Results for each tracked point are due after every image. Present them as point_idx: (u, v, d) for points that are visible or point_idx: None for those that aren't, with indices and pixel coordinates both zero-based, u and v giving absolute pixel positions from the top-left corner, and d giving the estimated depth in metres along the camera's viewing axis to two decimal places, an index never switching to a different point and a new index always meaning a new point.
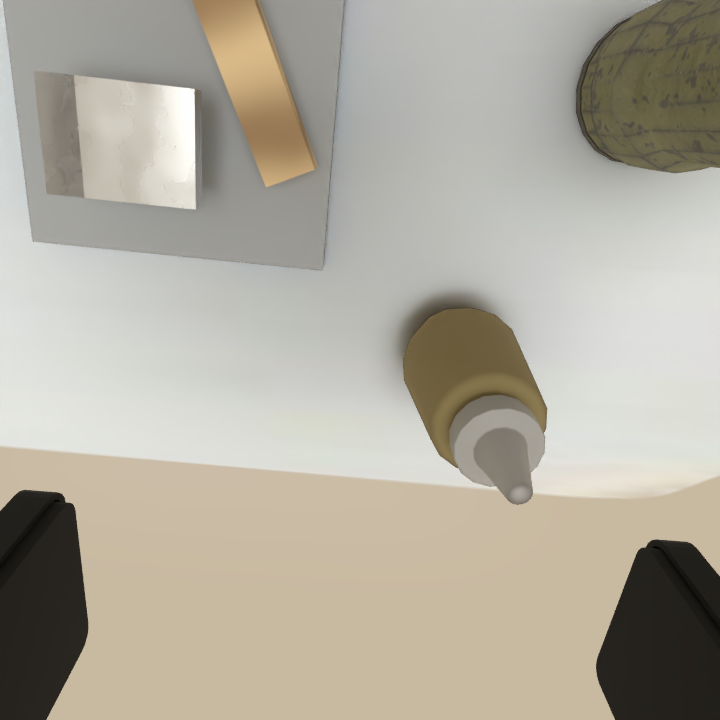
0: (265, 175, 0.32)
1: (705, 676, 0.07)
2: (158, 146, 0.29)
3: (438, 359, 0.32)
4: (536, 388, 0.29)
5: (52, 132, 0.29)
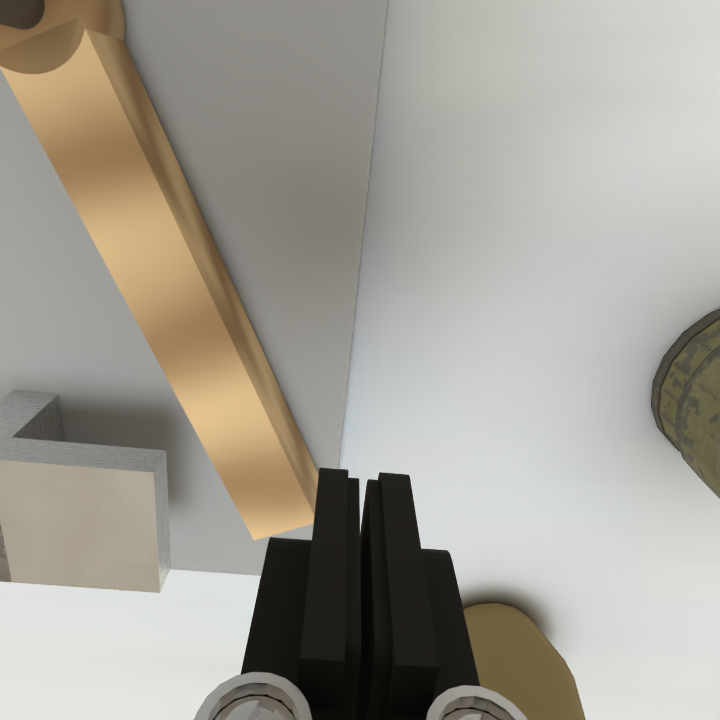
0: (253, 528, 0.24)
1: (367, 580, 0.08)
2: (107, 531, 0.22)
3: None
4: None
5: None
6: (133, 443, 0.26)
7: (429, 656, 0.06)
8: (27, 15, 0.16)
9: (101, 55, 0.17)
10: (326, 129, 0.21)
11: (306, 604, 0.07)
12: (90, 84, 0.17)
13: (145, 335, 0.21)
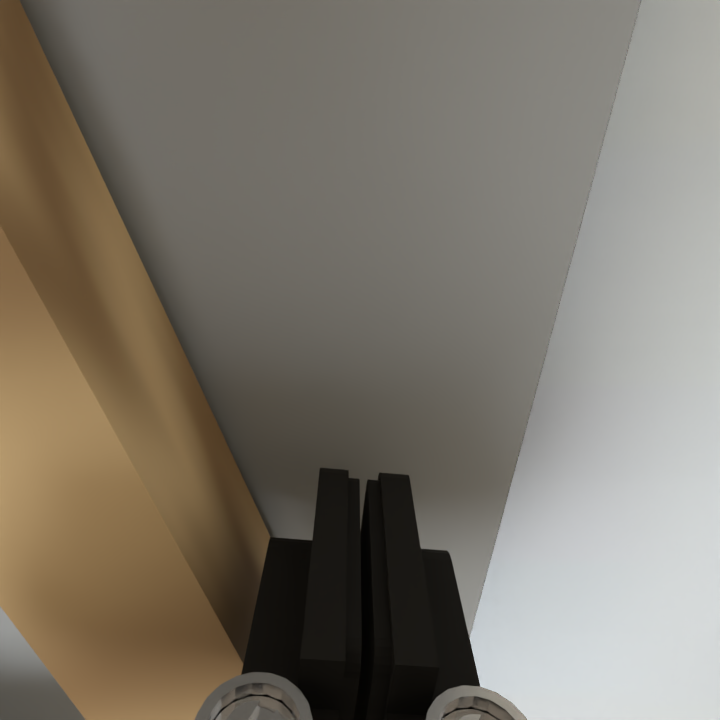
0: None
1: (366, 580, 0.08)
2: None
3: None
4: None
5: None
6: None
7: (429, 654, 0.06)
8: None
9: None
10: (483, 182, 0.09)
11: (307, 604, 0.07)
12: None
13: (45, 663, 0.09)
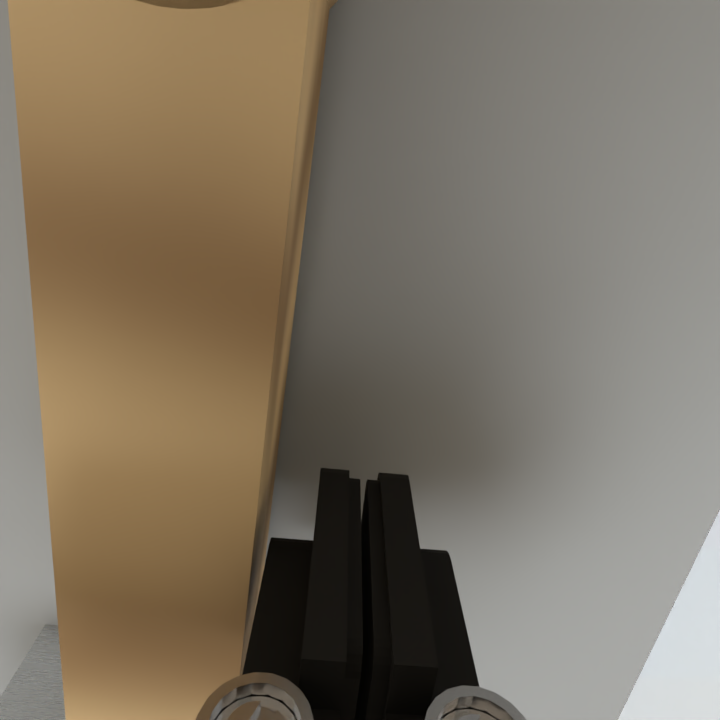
0: None
1: (366, 580, 0.08)
2: None
3: None
4: None
5: None
6: None
7: (429, 655, 0.06)
8: None
9: (307, 42, 0.06)
10: None
11: (308, 604, 0.07)
12: (240, 100, 0.06)
13: (60, 619, 0.09)
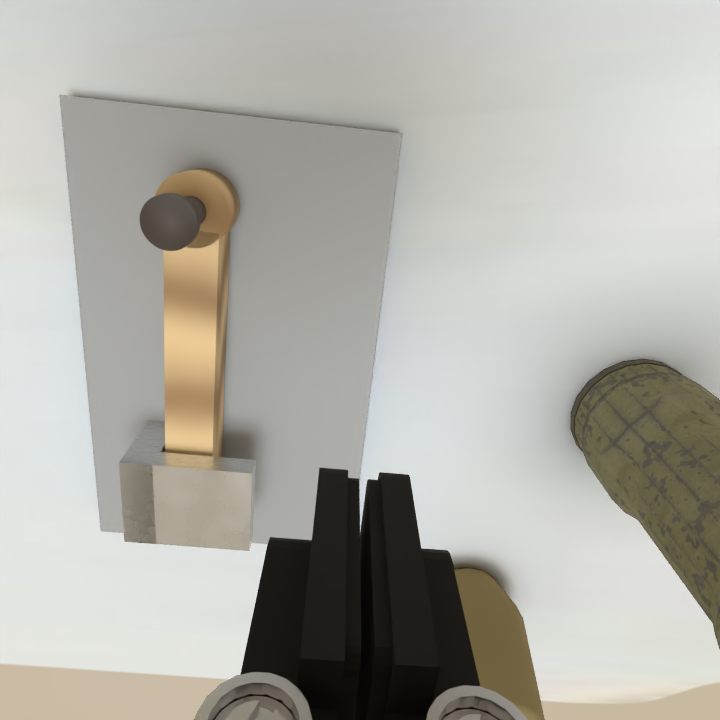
0: None
1: (367, 580, 0.08)
2: (220, 510, 0.35)
3: None
4: (536, 710, 0.35)
5: (132, 501, 0.35)
6: (224, 454, 0.40)
7: (429, 654, 0.06)
8: None
9: (219, 251, 0.31)
10: (356, 263, 0.34)
11: (306, 604, 0.07)
12: (206, 263, 0.31)
13: (165, 388, 0.34)
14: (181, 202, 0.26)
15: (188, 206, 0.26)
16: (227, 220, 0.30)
